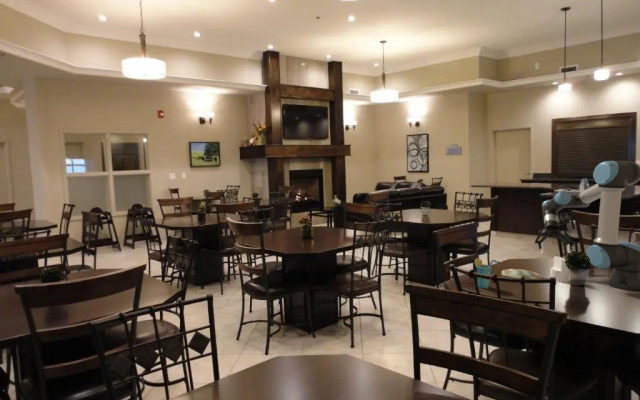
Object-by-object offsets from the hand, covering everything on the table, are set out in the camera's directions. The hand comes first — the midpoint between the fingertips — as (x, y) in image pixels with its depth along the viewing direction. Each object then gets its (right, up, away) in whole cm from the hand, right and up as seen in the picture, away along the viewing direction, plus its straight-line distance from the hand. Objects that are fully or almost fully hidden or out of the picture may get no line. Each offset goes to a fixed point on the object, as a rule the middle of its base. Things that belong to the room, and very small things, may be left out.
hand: (556, 254), depth 244 cm
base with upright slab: (-2, -13, -6) cm, 15 cm away
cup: (-48, -14, -21) cm, 54 cm away
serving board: (-20, -12, 0) cm, 23 cm away
